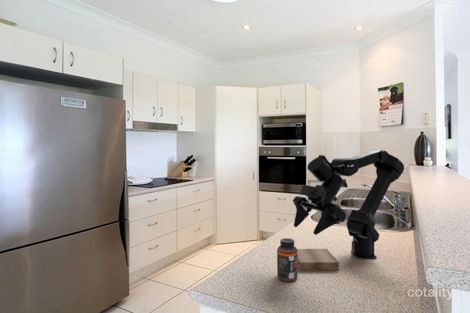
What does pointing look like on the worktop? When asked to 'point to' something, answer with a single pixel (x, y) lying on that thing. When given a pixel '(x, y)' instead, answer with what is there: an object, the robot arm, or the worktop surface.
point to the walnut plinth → (316, 259)
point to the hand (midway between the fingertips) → (304, 230)
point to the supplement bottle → (287, 260)
